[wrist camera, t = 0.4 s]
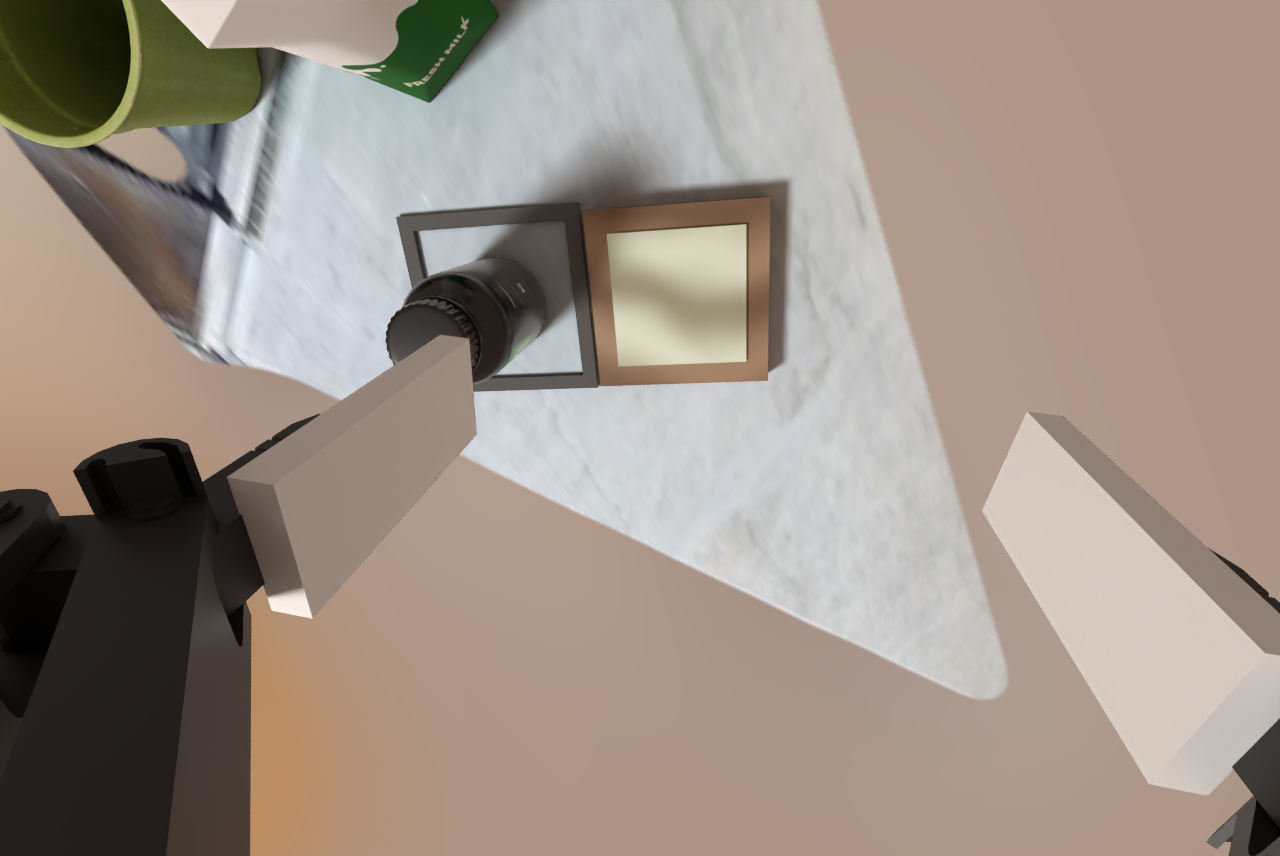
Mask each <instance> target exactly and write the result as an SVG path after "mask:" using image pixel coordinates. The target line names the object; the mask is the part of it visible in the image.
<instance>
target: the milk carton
mask: <svg viewBox="0 0 1280 856" xmlns="http://www.w3.org/2000/svg"><path fill="white" fill-rule="evenodd" d="M161 1H162V2H163V3H164V4H165V5H166V6H167V7H168V8H169V9H170V10H171V11H172V12H173V13H174V14H175V15H176V16H177V17H178V18H179V19H180V20H181V21H182V22H183V24H184V25H185V26H186V27H187V28H188V29H189V30H190V31H191V32H192V33H193V34H194V35H195V36H196V37H197V38H198V39H199V40H200V41H201V42H202V43H203V44H204V45H205V46H206V47H207V48H209V49H210V48H256V47H273V48H276V49H279V50H282V51H285V52H288V53H291V54H295V55H298V56H301V57H304V58H307V59H310V60H313V61H317V62H320V63H323V64H326V65H329V66H332V67H335V68H338V69H341V70H345V71H348V72H351V73H354V74H357V75H360V76H363V77H366V78H368V79H371V80H373V81H376V82H378V83H381V84H383V85H386V86H388V87H391V88H393V89H396V90H398V91H401V92H403V93H406V94H408V95H411V96H414V97H416V98H419V99H421V100H424V101H426V102H428V103H430V102H431V101H432V99H433V98H434V97H435V96H436V94H437V93H438V92H439V91H440V89H441V88H442V87H443V85H444V84H445V83H446V82H447V80H448V79H449V78H450V77H451V75H452V74H453V73H454V71H455V70H456V69H457V68H458V66H459V65H460V64H461V63H462V61H463V60H464V59H465V57H466V56H467V55H468V54H469V52H470V51H471V50H472V49H473V47H474V46H475V45H476V43H477V42H478V41H479V40H480V38H481V37H482V36H483V35H484V33H485V32H486V31H487V30H488V28H489V27H490V26H491V24H492V23H493V22H494V21H495V19H496V18H497V17H498V16H499V13H498V12H497V10H496V9H495V7H494V6H493V4H492V3H491V2H490V0H161Z"/></svg>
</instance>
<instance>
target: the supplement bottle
mask: <svg viewBox="0 0 1280 856" xmlns="http://www.w3.org/2000/svg"><path fill="white" fill-rule="evenodd" d="M545 315H546V306H545V299H544V295H543V293H542V290H541V288H540V286H539V284H538V282H537V281H536V280H535V278H534V277H533V276H532V275H531V274H530V273H529V272H528V271H527V270H526V269H525V268H524V267H522V266H521V265H519V264H517V263H515V262H513V261H510V260H507V259H503V258H486V259H482V260H478V261H475V262H471V263H468V264H465V265H462V266H459V267H456V268H452V269H449V270H446V271H443V272H440V273H437V274H434V275H431V276H429V277H427V278H425V279H423V280H422V281H420V282H419V283H418V284H416V285H415V286H414V287H413V288H412V290H411V291H410V292H409V294H408V295H407V297H406V299H405V301H404V304H403V307H402V308H401V309H400V310H398V311H397V312H396V313H395V315H394V316H393V317H391V321H390V323H389V324H388V330H387V331H386V336H387V338H386V344H387V351H388V352H389V357H390V359H391V360H392V361H393V364H394V365H396V364H397V363H399V362H400V361H402V360H403V359H405V358H406V357H408V356H409V355H411V354H412V353H414V352H415V351H417V350H418V349H420V348H421V347H423V346H424V345H426V344H427V343H429V342H430V341H432V340H433V339H435V338H436V337H438V336H439V335H446V336H453V337H461V338H469V343H470V356H471V369H472V381H473V384H477V383H481V382H483V381H486V380H487V379H489V378H491V377H492V376H494V375H495V374H497V373H498V372H499V371H500V370H501V369H502V368H504V367H505V366H506V365H507V364H508V363H509V362H510V361H512V360H513V359H514V358H515V357H516V356H517V355H518V354H520V353H521V352H522V351H523V350H524V349H525V348H526V347H528V346H529V345H530V344H531V343H532V342H533V341H534V340H535V339H536V337H537V336H538V335H539V333H540V331H541V329H542V327H543V324H544V321H545Z"/></svg>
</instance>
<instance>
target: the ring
mask: <svg viewBox="0 0 1280 856" xmlns="http://www.w3.org/2000/svg"><path fill="white" fill-rule="evenodd" d="M396 219H397V223H398V227H399V232H400V236H401V241H402V245H403V250H404V254H405V259H406V263H407V267H408V272H409V276H410V281H411V285H412V288H413V287H414V286H415V285H416V284H418V283H419V282H420V281H422V280H423V279H425V276H424V271H423V266H422V262H421V257H420V252H419V248H418V243H417V238H416V234H415V231H423V230H436V229H450V228H463V227H477V226H491V225H504V224H518V223H531V222H545V221H558V220H565V223H566V232H567V241H568V249H569V258H570V266H571V275H572V283H573V292H574V301H575V309H576V318H577V326H578V335H579V344H580V352H581V361H582V369H583V374H574V375H546V376H518V377H491V378H489V379H487V380H486V381H483V382H481V383H477V384H473V392H476V391H506V390H537V389H567V388H598V379H597V369H596V360H595V351H594V341H593V332H592V322H591V313H590V304H589V294H588V285H587V275H586V266H585V257H584V247H583V238H582V228H581V219H580V210H579V203H571V204H558V205H545V206H533V207H520V208H507V209H494V210H481V211H468V212H455V213H442V214H429V215H417V216H404V217H396Z"/></svg>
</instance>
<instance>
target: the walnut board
mask: <svg viewBox="0 0 1280 856" xmlns="http://www.w3.org/2000/svg"><path fill="white" fill-rule="evenodd" d="M770 209H771V197H756V198H743V199H730V200H716V201H703V202H690V203H677V204H664V205H650V206H637V207H624V208H611V209H598V210H586V211H582V214H583V223H584V233H585V242H586V252H587V261H588V271H589V280H590V290H591V299H592V309H593V318H594V328H595V337H596V347H597V357H598V366H599V376H600V385H601V386H620V385H650V384H680V383H711V382H741V381H768V335H769V272H770Z"/></svg>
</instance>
